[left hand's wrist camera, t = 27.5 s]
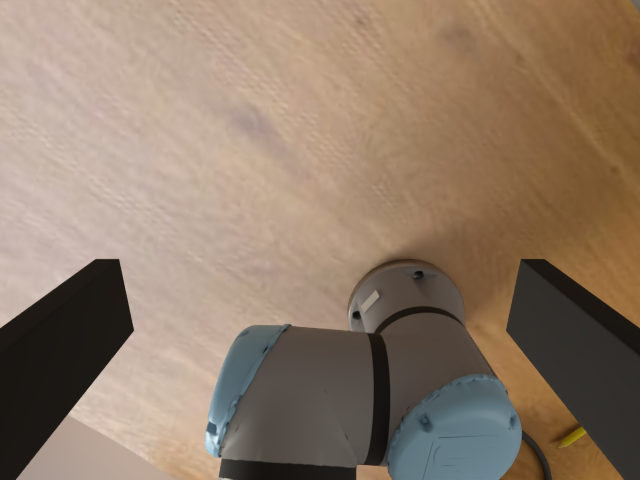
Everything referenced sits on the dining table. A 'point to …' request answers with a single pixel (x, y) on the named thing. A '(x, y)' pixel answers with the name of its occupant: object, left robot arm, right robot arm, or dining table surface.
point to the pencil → (572, 437)
